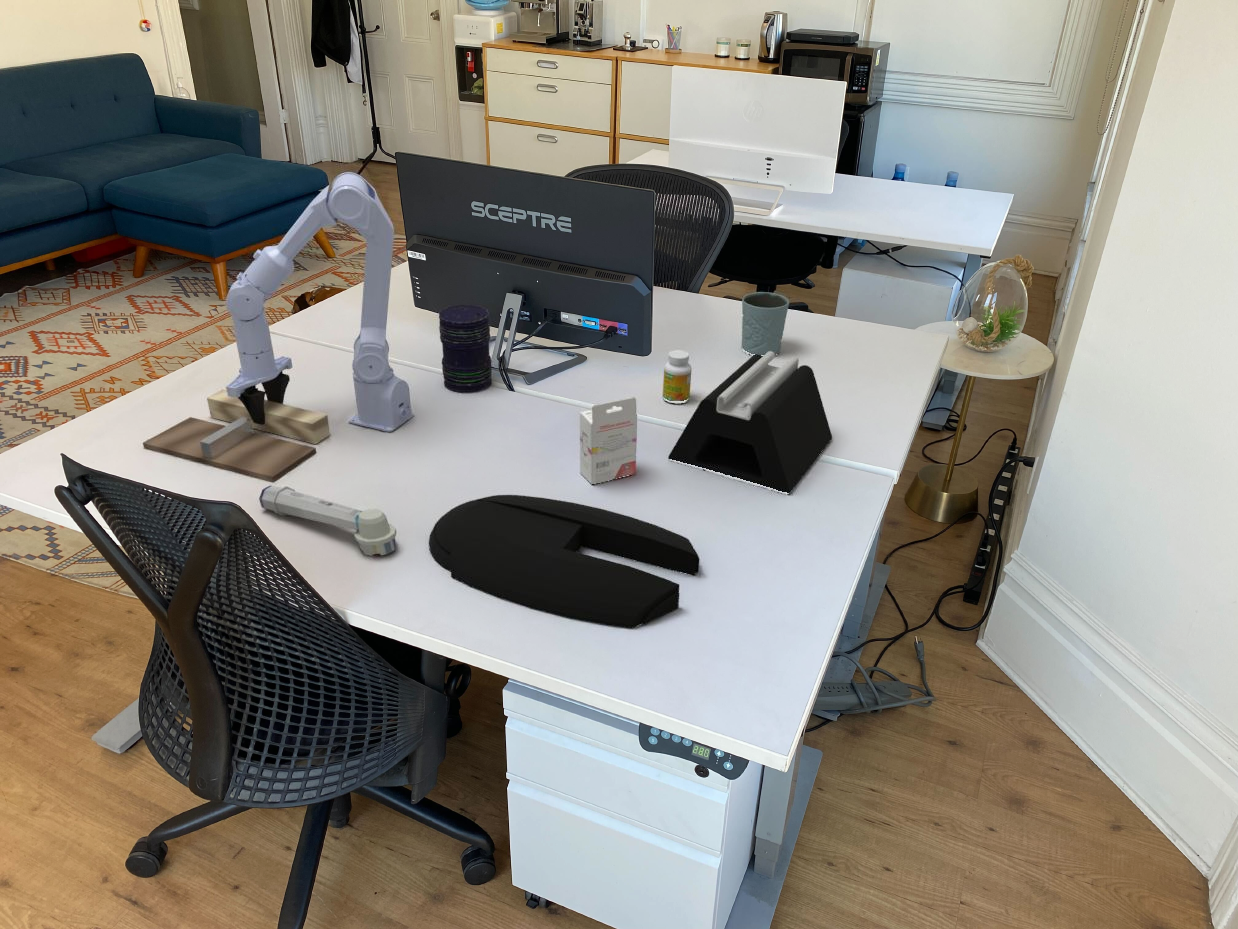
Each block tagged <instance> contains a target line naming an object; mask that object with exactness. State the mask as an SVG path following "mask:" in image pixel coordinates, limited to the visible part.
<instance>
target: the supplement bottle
mask: <svg viewBox="0 0 1238 929" xmlns="http://www.w3.org/2000/svg"><path fill="white" fill-rule="evenodd" d="M689 357H690V354H689V353H688V352H687V351H685V350H681V349H680V350H678V349H676V350H671V351H670V352H668V356H667V360H668V361H667V362H666V363H665V364H664V368H663V383H662V387H663V388H662V398H663V397H664V398H665V399H667V400H669V401H684V400H687V399H688V398H689V399H690V395H691V384H692V382H691V380H692V370H693V368H692V365H691V364H690V363H689V359H690V358H689Z"/></svg>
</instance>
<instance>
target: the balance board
mask: <svg viewBox="0 0 1238 929" xmlns="http://www.w3.org/2000/svg"><path fill="white" fill-rule="evenodd" d="M226 426H227V425H224V424H220V423H216V422H212V421H208V420H203V419H199V418H196V417H193V416H192V417H191V416H190V417H188V418H186V419H184V420H182V421H180V422H179V423H177V424H175V425H173V426H171V427H169V428H167V429H166V430H164V431H161V432H160V433H158V434H156V435H155V436H153V437H151V438H149V439H147V440H145V441H144V442H142V445H143V449H147V450H151V451H155V452H158V453H162V454H165V455H170V456H173V457H177V458H181V459H185V460H189V461H191V462H192V461H193V462H196V463H200V464H203V465H207V466H211V467H214V468H219V469H222V470H226V471H230V472H233V473H238V474H241V475H245V476H249V477H252V478H257V479H260V480H264V481H268V482H271V483H275V482H276V481H277V480H279V479H281V478H282V477H283V476H285V475H287V474H288V473H289V472H290V471H292V470H294V469H295V468H297V467H298V466H300V465H301V464H303V463H304V462H305V461H307V460H308V459H309V458H311V457H312V456H314V455H316V454H317V448H316V447H314V446H309V445H306V444H301V443H297V442H294V441H289V440H285V439H281V438H277V437H273V436H268V435H266V434H265V435H264V434H261V433H256V432H253V433H254V435H252V436H250V437H249V438H247V439H245V440H244V441H242V442H240V443H239V444H237V445H235V446H234V447H232V448H230V449H229V450H227V451H226V452H224V453H222V454H221V455H219V456H217V457H216V458H214V459H209V458H206V457H203V453H202V449H201V444H200V441H201V440H203V439H205V438H207V437H208V436H210V435H212V434H213V433H215V432H217V431H219V430H220V429H222V428H224V427H226Z"/></svg>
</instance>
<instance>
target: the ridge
mask: <svg viewBox="0 0 1238 929" xmlns="http://www.w3.org/2000/svg"><path fill="white" fill-rule="evenodd" d="M225 426H226V427H224V428H222V429H220V430H219V431H217V432H215V433H213V434H212V435H210V436H208V437H207V438H205V439H203V440H201V441H200V444H201V449H202V453H203V457H206V458H209V459H214V458H216V457H217V456H219V455H221V454H222V453H224V452H226V451H227V450H229V449H230V448H232V447H234V446H235V445H237V444H239V443H240V442H242V441H244V440H245V439H247V438H249V437H250V436H252V435H254V433H255V432H254V428H253V427H252V422H251V419H248V418H244V417H241V418H240V419H238V420H236V421H234V422H233V423H231V422H230V423H229V424H227V425H225Z"/></svg>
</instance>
